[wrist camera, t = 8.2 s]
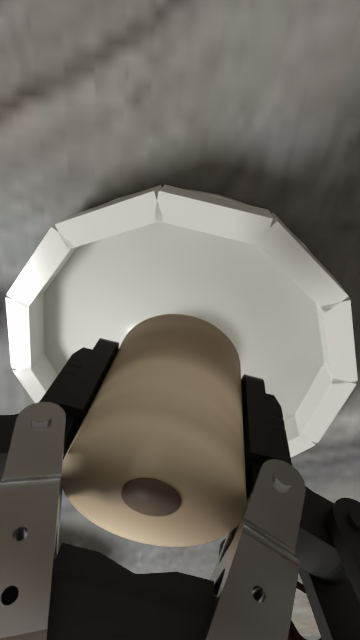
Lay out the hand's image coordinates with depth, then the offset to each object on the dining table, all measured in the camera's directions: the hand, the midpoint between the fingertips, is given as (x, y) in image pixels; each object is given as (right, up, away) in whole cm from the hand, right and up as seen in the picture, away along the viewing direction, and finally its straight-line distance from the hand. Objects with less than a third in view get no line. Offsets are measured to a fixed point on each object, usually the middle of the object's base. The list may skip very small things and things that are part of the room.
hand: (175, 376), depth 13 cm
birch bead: (0, 0, +1) cm, 1 cm away
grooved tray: (0, 0, +12) cm, 12 cm away
